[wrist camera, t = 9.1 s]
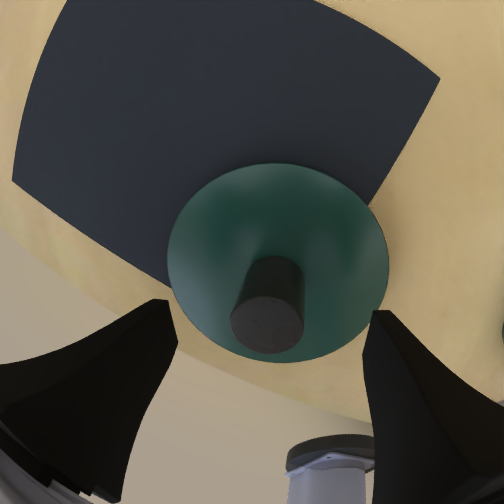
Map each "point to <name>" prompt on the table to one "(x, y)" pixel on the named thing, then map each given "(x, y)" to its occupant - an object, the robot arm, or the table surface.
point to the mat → (204, 109)
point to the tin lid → (278, 262)
